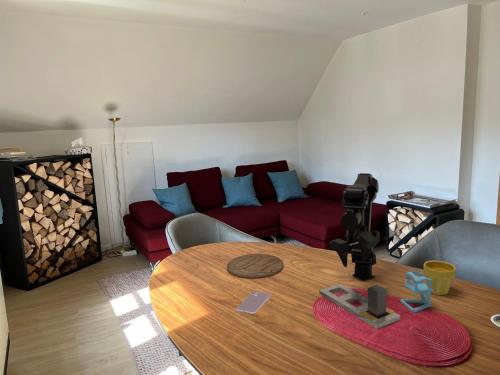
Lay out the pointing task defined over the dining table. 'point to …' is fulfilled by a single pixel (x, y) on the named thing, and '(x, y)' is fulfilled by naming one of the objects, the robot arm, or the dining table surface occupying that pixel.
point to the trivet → (255, 266)
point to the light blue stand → (418, 290)
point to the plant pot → (439, 276)
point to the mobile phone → (253, 302)
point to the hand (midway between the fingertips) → (355, 264)
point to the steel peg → (377, 301)
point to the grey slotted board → (361, 310)
